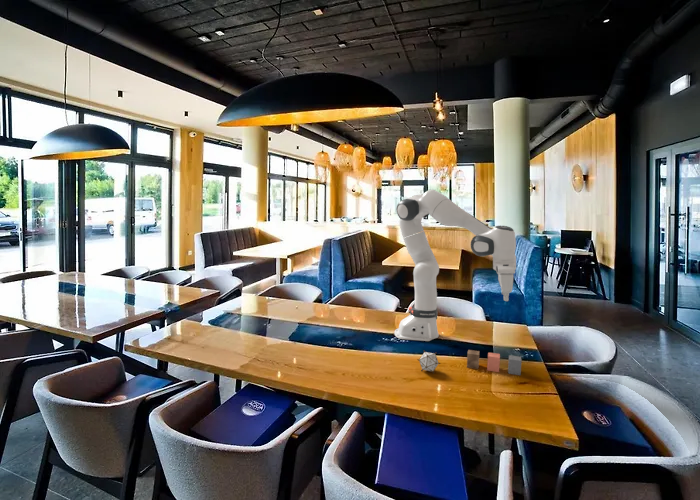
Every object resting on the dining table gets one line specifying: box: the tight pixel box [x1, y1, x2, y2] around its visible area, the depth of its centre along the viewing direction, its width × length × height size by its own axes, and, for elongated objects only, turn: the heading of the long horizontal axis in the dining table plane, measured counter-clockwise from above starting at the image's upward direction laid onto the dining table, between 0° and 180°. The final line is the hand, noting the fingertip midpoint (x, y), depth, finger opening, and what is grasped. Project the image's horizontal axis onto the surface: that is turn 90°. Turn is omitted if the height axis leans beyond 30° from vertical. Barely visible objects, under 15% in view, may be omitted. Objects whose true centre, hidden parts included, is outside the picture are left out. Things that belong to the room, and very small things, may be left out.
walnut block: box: [466, 349, 480, 370], centre depth 164 cm, size 4×4×6 cm
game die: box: [416, 350, 442, 374], centre depth 158 cm, size 9×8×10 cm
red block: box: [486, 352, 501, 373], centre depth 161 cm, size 4×4×6 cm
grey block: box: [507, 354, 522, 376], centre depth 158 cm, size 4×4×6 cm
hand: (504, 297), depth 165 cm, fingers open, 8 cm apart
